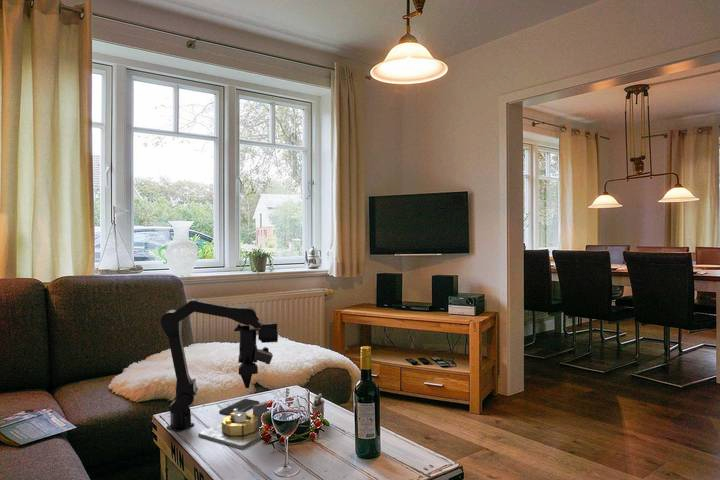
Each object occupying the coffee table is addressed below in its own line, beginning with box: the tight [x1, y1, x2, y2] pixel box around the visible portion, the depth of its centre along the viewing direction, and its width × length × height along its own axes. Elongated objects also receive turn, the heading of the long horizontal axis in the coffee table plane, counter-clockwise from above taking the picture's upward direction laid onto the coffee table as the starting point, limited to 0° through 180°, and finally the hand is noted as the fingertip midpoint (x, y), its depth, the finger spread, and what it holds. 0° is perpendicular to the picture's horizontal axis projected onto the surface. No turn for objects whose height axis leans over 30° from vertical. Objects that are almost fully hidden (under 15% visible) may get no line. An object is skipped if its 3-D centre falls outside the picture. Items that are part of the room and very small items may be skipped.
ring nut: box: [221, 399, 274, 435], centre depth 162 cm, size 18×11×6 cm, turn 134°
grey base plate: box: [198, 408, 262, 450], centre depth 160 cm, size 19×18×6 cm
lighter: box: [311, 393, 325, 420], centre depth 166 cm, size 8×3×10 cm, turn 168°
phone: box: [218, 398, 261, 416], centre depth 182 cm, size 8×1×15 cm
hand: (247, 387), depth 169 cm, fingers closed
